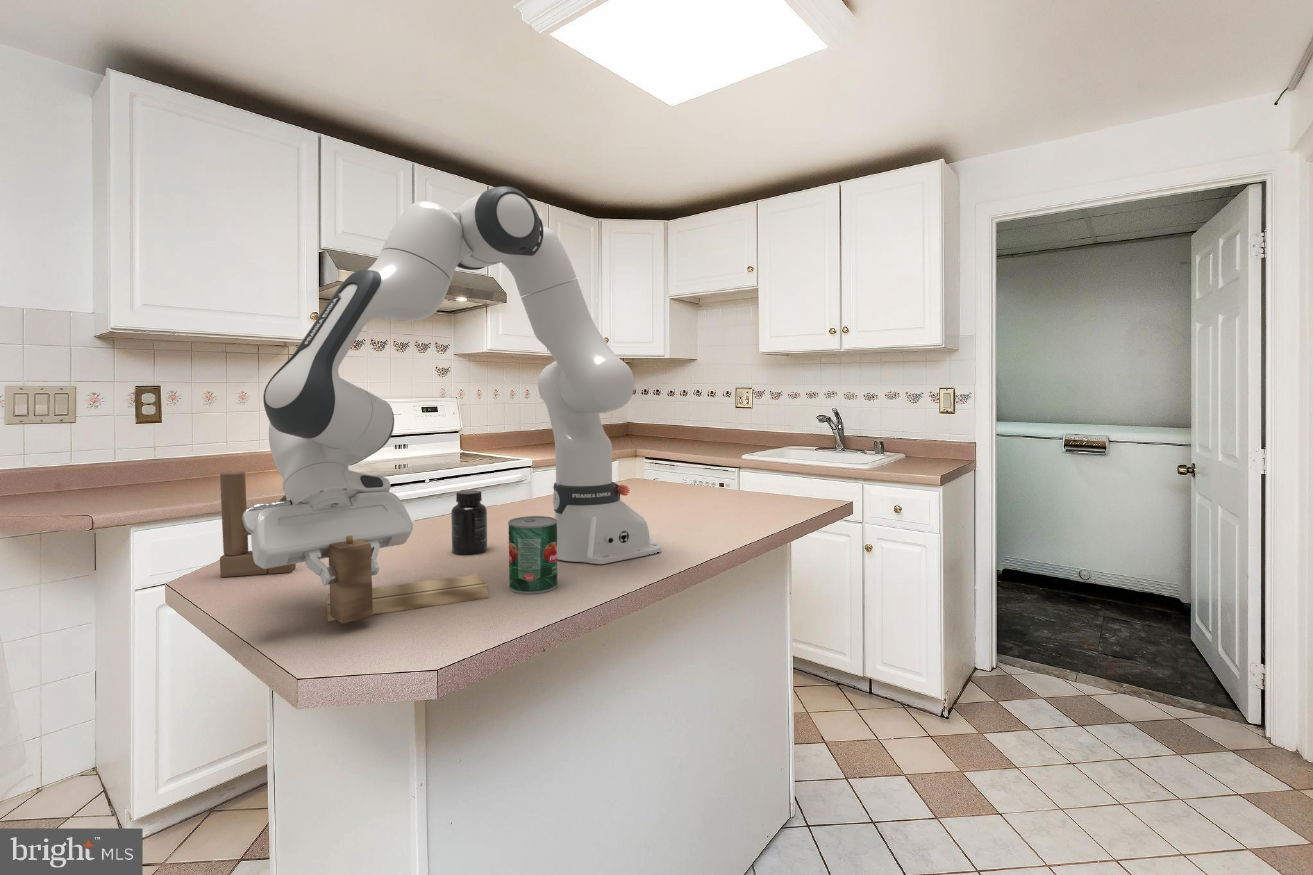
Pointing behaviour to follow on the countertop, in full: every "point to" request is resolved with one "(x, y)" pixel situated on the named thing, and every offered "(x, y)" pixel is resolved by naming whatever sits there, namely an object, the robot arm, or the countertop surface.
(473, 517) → the supplement bottle
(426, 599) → the board
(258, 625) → the countertop surface
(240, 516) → the wooden block structure
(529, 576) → the canned tomato
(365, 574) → the block
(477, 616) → the countertop surface
